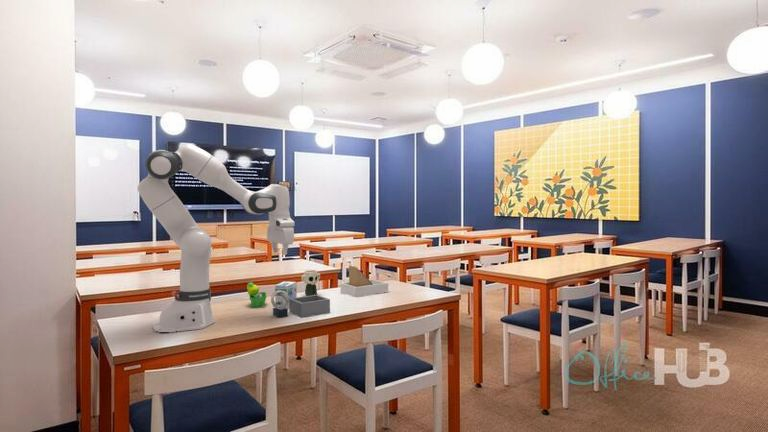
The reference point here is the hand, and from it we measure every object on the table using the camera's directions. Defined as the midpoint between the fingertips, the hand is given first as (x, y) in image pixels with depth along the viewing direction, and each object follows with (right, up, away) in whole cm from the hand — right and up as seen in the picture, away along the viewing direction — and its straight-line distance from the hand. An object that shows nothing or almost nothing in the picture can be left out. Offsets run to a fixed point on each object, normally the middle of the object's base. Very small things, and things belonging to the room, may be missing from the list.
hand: (279, 253), depth 199 cm
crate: (+12, -27, +7) cm, 30 cm away
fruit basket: (-16, -27, +21) cm, 37 cm away
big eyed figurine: (+7, -26, +42) cm, 50 cm away
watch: (0, -27, +1) cm, 27 cm away
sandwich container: (+35, -26, +50) cm, 66 cm away
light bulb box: (-2, -27, +20) cm, 33 cm away
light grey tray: (+34, -25, +50) cm, 66 cm away
